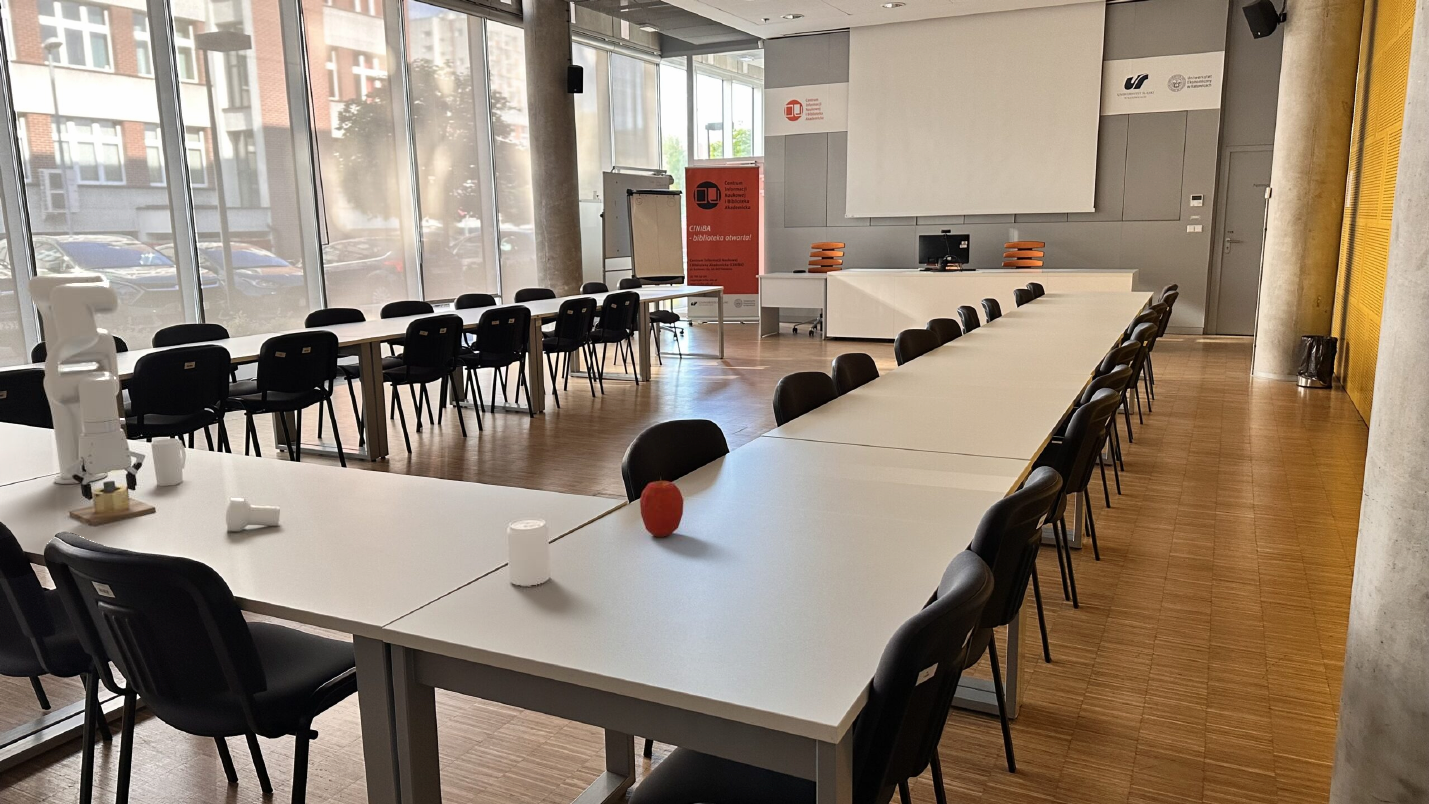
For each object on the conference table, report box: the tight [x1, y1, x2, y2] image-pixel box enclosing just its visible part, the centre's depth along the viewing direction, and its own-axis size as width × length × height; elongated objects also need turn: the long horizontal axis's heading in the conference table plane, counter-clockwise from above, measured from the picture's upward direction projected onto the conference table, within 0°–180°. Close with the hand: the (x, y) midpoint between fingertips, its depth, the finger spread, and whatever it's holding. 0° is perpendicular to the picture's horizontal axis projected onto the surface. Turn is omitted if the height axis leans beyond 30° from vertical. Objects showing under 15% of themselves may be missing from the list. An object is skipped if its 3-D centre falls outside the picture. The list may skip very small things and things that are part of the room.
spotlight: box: [225, 496, 281, 533], centre depth 219 cm, size 8×11×8 cm
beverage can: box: [506, 517, 551, 587], centre depth 185 cm, size 8×8×12 cm
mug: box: [150, 438, 187, 487], centre depth 259 cm, size 10×7×12 cm, turn 169°
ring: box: [92, 485, 130, 514], centre depth 230 cm, size 7×7×5 cm
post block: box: [68, 480, 157, 527], centre depth 230 cm, size 14×14×8 cm
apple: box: [639, 476, 685, 538], centre depth 212 cm, size 10×10×14 cm
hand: (110, 494), depth 230 cm, fingers open, 9 cm apart
